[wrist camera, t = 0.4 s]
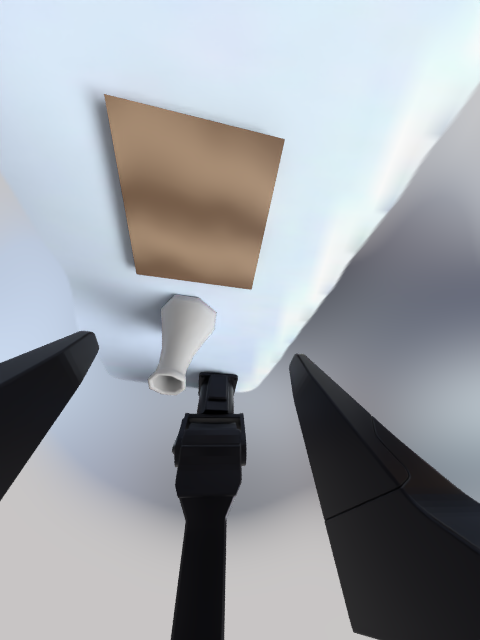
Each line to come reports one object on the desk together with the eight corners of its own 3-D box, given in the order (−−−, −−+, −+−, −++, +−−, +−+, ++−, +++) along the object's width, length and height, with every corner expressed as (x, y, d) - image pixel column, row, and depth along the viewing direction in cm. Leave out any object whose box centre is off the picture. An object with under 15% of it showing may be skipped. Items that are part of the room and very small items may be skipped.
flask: (170, 283, 20) (129, 344, 12) (226, 308, 23) (222, 373, 15) (154, 327, 24) (115, 396, 16) (204, 345, 26) (191, 413, 18)
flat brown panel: (249, 282, 21) (251, 289, 20) (144, 267, 20) (136, 274, 18) (278, 145, 14) (284, 139, 13) (120, 106, 13) (104, 94, 11)
